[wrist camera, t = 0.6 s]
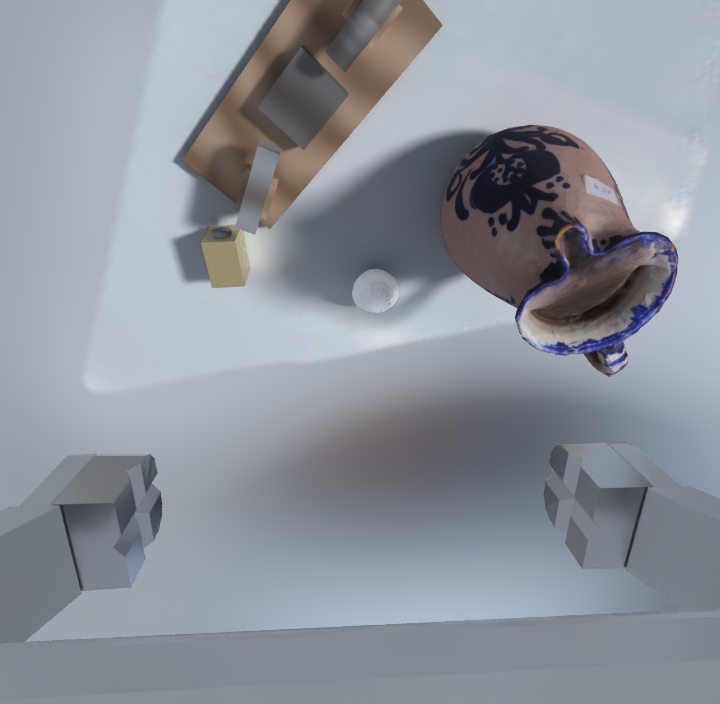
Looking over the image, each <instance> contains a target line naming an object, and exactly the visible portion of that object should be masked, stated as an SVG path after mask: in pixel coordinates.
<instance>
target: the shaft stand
mask: <svg viewBox="0 0 720 704" xmlns="http://www.w3.org/2000/svg"><path fill="white" fill-rule="evenodd" d="M442 26H443V25H442V24H441V23H440V21H439V20H438V19H437V18H436V16H435V15H434V14H433V12H432V11H431V10H430V9H429V7H428V6H427V5H426V4H425V2H424V1H423V0H290V2H289V3H288V5H287V6H286V8H285V9H284V11H283V12H282V14H281V15H280V16H279V18H278V19H277V21H276V22H275V24H274V25H273V27H272V28H271V30H270V31H269V33H268V34H267V36H266V37H265V39H264V40H263V42H262V43H261V44H260V46H259V47H258V49H257V50H256V52H255V53H254V55H253V56H252V58H251V59H250V61H249V62H248V64H247V65H246V67H245V68H244V70H243V71H242V73H241V74H240V75H239V77H238V78H237V80H236V81H235V83H234V84H233V86H232V87H231V89H230V90H229V92H228V93H227V95H226V96H225V98H224V99H223V101H222V102H221V103H220V105H219V106H218V108H217V109H216V111H215V112H214V114H213V115H212V117H211V118H210V120H209V121H208V123H207V124H206V126H205V127H204V129H203V130H202V131H201V133H200V134H199V136H198V137H197V139H196V140H195V142H194V143H193V145H192V146H191V148H190V149H189V151H188V152H187V154H186V155H185V157H184V158H183V160H182V161H183V162H184V163H186V164H187V165H188V166H190V167H191V168H192V169H193V170H195V171H196V172H197V173H198V174H200V175H201V176H202V177H204V178H205V179H206V180H207V181H209V182H210V183H211V184H213V185H214V186H215V187H216V188H218V189H219V190H220V191H222V192H223V193H224V194H225V195H227V196H228V197H229V198H230V199H232V200H233V201H234V202H236V205H235V208H236V209H239V210H240V212H239V215H238V219H237V222H236V226H235V228H238V229H241V230H244V231H246V232H249V233H252V234H255V233H256V230H257V227H258V224H259V221H260V222H261V223H262V224H264V225H265V226H266V227H268V228H269V229H271V227H272V226H273V225H274V224H275V223H276V221H277V220H278V219H279V218H280V217H281V216H282V214H283V213H284V212H285V211H286V210H287V208H288V207H289V206H290V205H291V204H292V203H293V201H294V200H295V199H296V198H297V197H298V195H299V194H300V193H301V192H302V191H303V190H304V188H305V187H306V186H307V185H308V184H309V183H310V181H311V180H312V179H313V178H314V177H315V175H316V174H317V173H318V172H319V171H320V170H321V168H322V167H323V166H324V165H325V164H326V162H327V161H328V160H329V159H330V158H331V157H332V155H333V154H334V153H335V152H336V151H337V149H338V148H339V147H340V146H341V145H342V144H343V142H344V141H345V140H346V139H347V138H348V137H349V135H350V134H351V133H352V132H353V131H354V129H355V128H356V127H357V126H358V125H359V124H360V122H361V121H362V120H363V119H364V118H365V116H366V115H367V114H368V113H369V112H370V111H371V109H372V108H373V107H374V106H375V105H376V104H377V102H378V101H379V100H380V99H381V98H382V96H383V95H384V94H385V93H386V92H387V91H388V89H389V88H390V87H391V86H392V85H393V83H394V82H395V81H396V80H397V79H398V78H399V76H400V75H401V74H402V73H403V72H404V70H405V69H406V68H407V67H408V66H409V65H410V63H411V62H412V61H413V60H414V59H415V58H416V56H417V55H418V54H419V53H420V52H421V50H422V49H423V48H424V47H425V46H426V45H427V43H428V42H429V41H430V40H431V39H432V37H433V36H434V35H435V34H436V33H437V32H438V30H439V29H440V28H441V27H442Z"/></svg>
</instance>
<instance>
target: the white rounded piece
mask: <svg viewBox="0 0 720 704" xmlns="http://www.w3.org/2000/svg"><path fill="white" fill-rule="evenodd" d="M398 295H399V286H398V283H397V281H396V280H395V278H394V277H393V276H392V275H390V274H389V273H388V272H386V271H384V270H382V269H370V270H367V271H365V272H363V274H361V275H360V276H359V277H358V278H357V280H356V281H355V283H354V286H353V290H352V297H353V300H354V302H355V304H356V305H357V306H358V307H359V308H361V309H362V310H364V311H367V312H371V313H380V312H384V311H386V310H388V309H389V308H390V307H392V306H393V305H394V303H395V302H396V300H397V298H398Z"/></svg>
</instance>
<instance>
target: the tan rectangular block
mask: <svg viewBox="0 0 720 704" xmlns="http://www.w3.org/2000/svg"><path fill="white" fill-rule="evenodd" d="M235 226H236V225H222V226H209V228H208V230H207V232H206V234H205V236H204V237H203V239H202V241H201V246H202V250H203V254H204V258H205V262H206V265H207V269H208V273H209V277H210V281H211V285H212V288H221V287H240V286H245V283H246V280H247V277H248V273H249V270H250V265H249V260H248V255H247V249H246V244H245V239H244V234H243V230H241V229H238V228H235Z"/></svg>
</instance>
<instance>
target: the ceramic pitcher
mask: <svg viewBox="0 0 720 704" xmlns="http://www.w3.org/2000/svg"><path fill="white" fill-rule="evenodd" d="M440 220H441V231H442V236H443V239H444V243H445V246H446V249H447V251H448V253H449V255H450V256H451V258H452V259H453V261H454V263H455V264H456V265H457V266H458V267H459V268H460V270H461V271H462V272H463V273H464V274H465V275H467V276H468V277H469V278H470V279H471V280H472V281H474V282H475V283H476V284H478V285H479V286H480V287H482V288H483V289H485V290H486V291H488V292H489V293H491V294H493V295H494V296H496V297H498V298H499V299H501V300H503V301H505V302H507V303H508V304H510V305H512V306H514V307H516V308H517V311H516V316H515V319H516V323H517V326H518V329H519V332H520V334H521V335H522V338H523V339H524V340H525V341H526V342H528V343H529V344H530V345H531V346H532V347H534V348H535V349H537V350H539V351H543V352H547V353H554V354H556V355H564V356H567V355H569V354H582V353H583V354H584V355H585V356H586V358H587V359H588V360H589V362H590V363H591V364H592V366H593V367H595V368H596V369H597V370H598V371H600V372H602V373H603V374H605V375H607V376H609V377H611V376H612V375H614V374H615V373H617V372H619V371H620V370H622V369H623V368H624V367H625V366H626V364H627V362H628V355H627V353H626V351H625V346H624V343H623V341H624V340H625V339H627V338H628V337H630V336H632V335H633V334H635V333H636V332H637V331H638V330H639V329H640V328H641V327H642V326H644V325H645V324H646V323H647V322H648V321H649V320H650V319H651V318H652V317H653V316H654V315H655V314H657V313H658V312H659V311H660V309H661V308H662V306H663V304H664V302H665V301H666V300H667V298H668V297H669V295H670V294H671V291H672V288H673V285H674V283H675V279H676V275H677V264H678V255H677V250H676V247H675V245H674V244H673V243H672V242H671V241H670V239H669V238H668V237H666V236H664V235H662V234H659V233H657V232H640V231H638V230H636V229H635V228H634V227H633V225H632V223H631V221H630V219H629V216H628V213H627V210H626V208H625V206H624V203H623V199H622V197H621V194H620V192H619V189H618V186H617V184H616V182H615V180H614V179H613V177H612V175H611V173H610V171H609V170H608V168H607V167H606V165H605V164H604V162H603V161H602V160H601V158H600V157H599V156H598V155H597V154H596V153H595V152H594V151H593V150H592V149H591V148H590V147H589V146H588V145H587V144H586V143H585V142H583V141H582V140H581V139H579V138H578V137H576V136H574V135H572V134H570V133H568V132H565V131H563V130H561V129H558V128H553V127H549V126H540V125H527V126H519V127H513V128H508V129H505V130H503V131H500V132H498V133H495V134H493V135H490V136H489V137H487V138H486V139H484V140H483V141H481V142H480V143H478V144H477V145H476V146H474V147H473V148H472V149H471V150H470V151H469V152H468V153H467V154H466V155H465V156H464V157H463V158H462V160H461V161H460V162H459V164H458V165H457V167H456V168H455V170H454V172H453V173H452V175H451V177H450V179H449V182H448V184H447V187H446V190H445V193H444V196H443V201H442V206H441V216H440Z"/></svg>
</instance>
